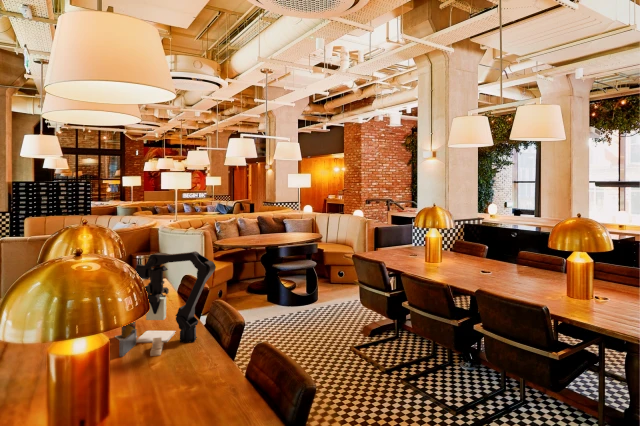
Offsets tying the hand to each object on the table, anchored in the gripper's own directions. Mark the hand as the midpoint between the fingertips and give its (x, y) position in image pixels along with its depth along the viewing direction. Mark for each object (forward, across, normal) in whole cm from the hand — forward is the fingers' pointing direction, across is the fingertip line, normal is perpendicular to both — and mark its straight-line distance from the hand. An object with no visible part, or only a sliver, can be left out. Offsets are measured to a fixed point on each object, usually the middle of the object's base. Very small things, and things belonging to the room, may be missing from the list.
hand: (156, 312), depth 198 cm
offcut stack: (+12, +18, +6) cm, 22 cm away
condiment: (+12, -1, -14) cm, 19 cm away
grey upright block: (+3, 0, 0) cm, 3 cm away
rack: (+12, +16, -7) cm, 21 cm away
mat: (+12, 0, 0) cm, 12 cm away
